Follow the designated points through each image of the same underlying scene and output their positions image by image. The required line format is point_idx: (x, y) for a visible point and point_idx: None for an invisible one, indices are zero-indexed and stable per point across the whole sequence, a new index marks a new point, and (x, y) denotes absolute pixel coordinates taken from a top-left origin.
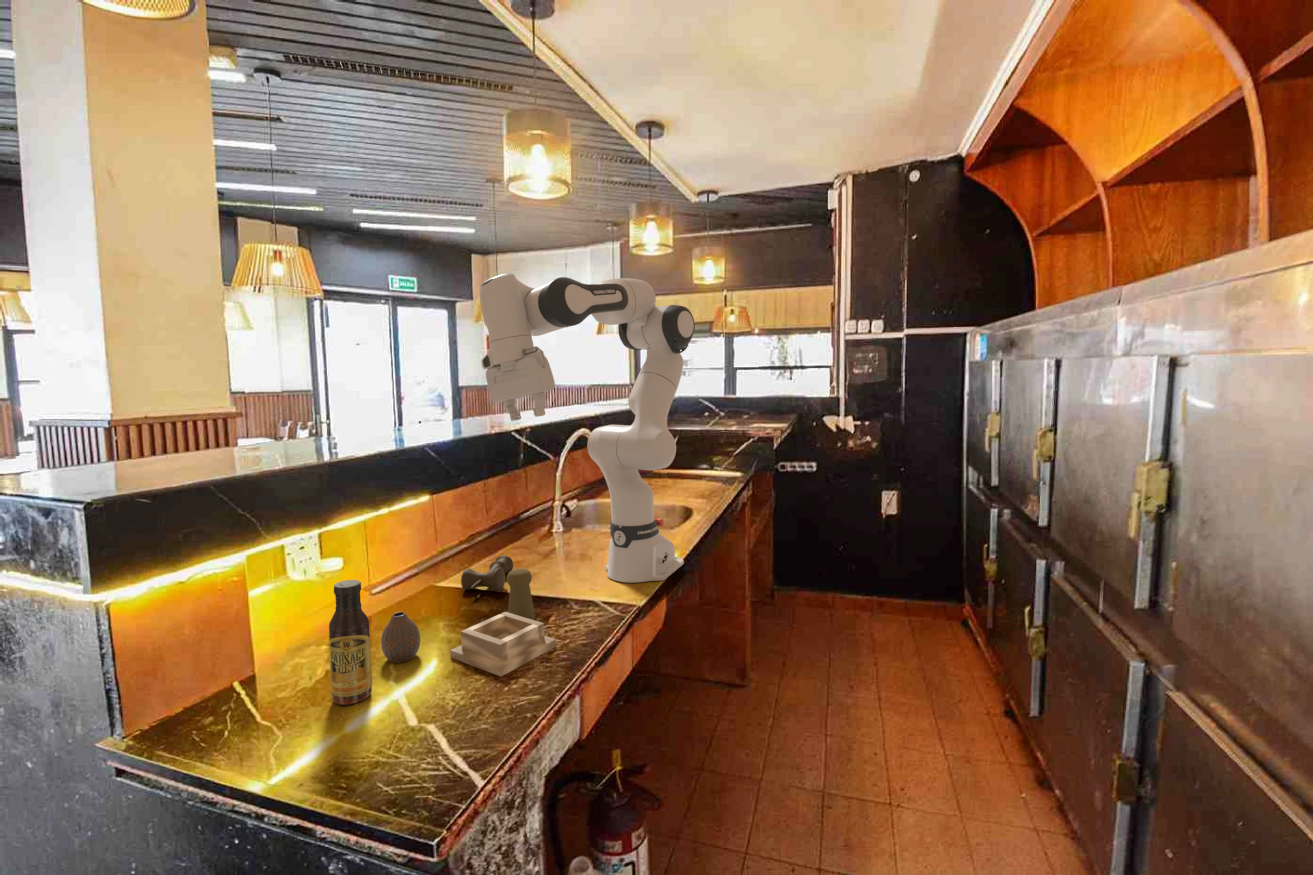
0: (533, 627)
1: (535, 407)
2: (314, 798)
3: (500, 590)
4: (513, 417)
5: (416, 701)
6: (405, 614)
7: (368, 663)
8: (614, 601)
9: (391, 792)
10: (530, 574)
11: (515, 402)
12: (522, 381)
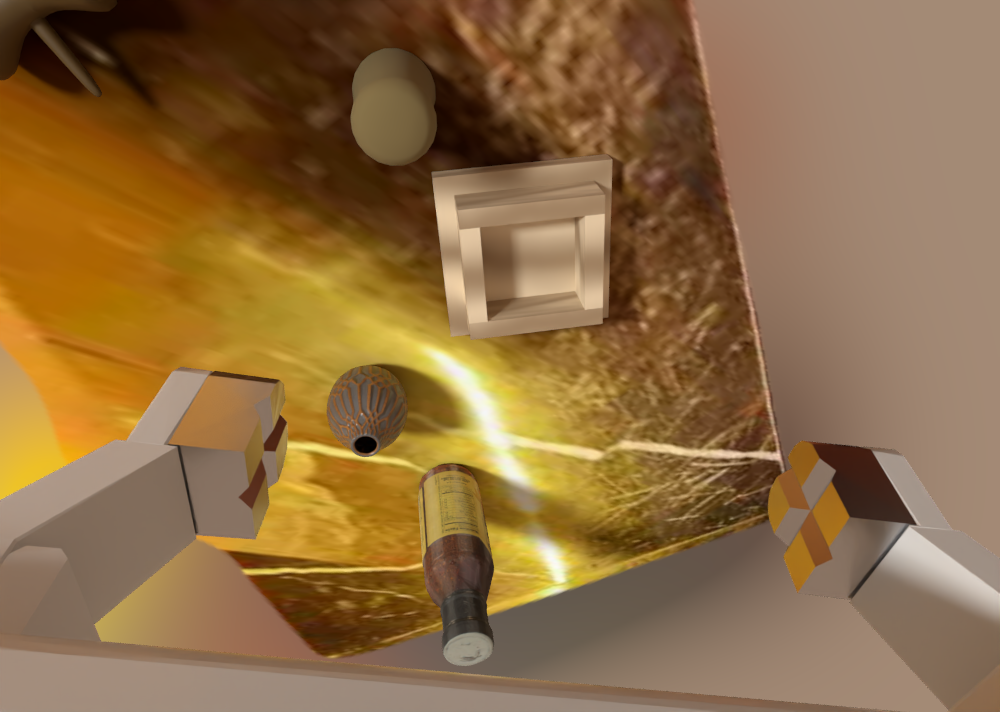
0: (601, 227)
1: (874, 612)
2: (629, 562)
3: None
4: (268, 485)
5: (545, 431)
6: (376, 436)
7: (479, 509)
8: None
9: (695, 516)
10: (426, 98)
11: (55, 575)
12: None
